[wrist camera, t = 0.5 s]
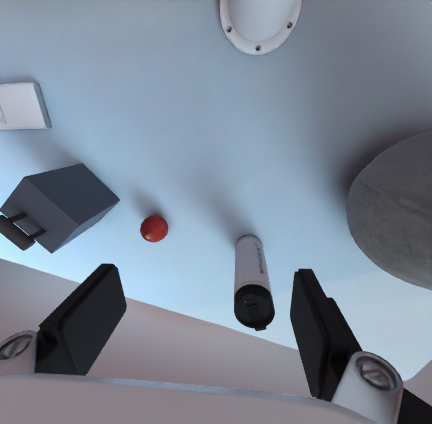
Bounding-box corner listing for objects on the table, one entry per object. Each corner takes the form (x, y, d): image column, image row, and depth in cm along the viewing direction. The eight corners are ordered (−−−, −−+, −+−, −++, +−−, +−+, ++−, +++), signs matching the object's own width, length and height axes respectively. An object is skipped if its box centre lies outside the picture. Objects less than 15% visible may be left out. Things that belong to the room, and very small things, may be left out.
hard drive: (52, 128, 45) (-1, 130, 46) (39, 83, 42) (-17, 86, 43) (46, 128, 44) (-9, 130, 45) (32, 81, 41) (-27, 85, 42)
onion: (158, 236, 52) (145, 254, 45) (143, 217, 51) (127, 233, 43) (177, 225, 51) (166, 242, 43) (162, 206, 49) (148, 220, 42)
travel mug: (241, 261, 53) (242, 335, 34) (231, 239, 51) (227, 304, 32) (266, 254, 51) (281, 327, 33) (257, 231, 49) (268, 294, 31)
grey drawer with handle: (-8, 184, 30) (-35, 221, 32) (57, 239, 32) (28, 269, 35) (82, 163, 47) (60, 188, 50) (120, 200, 50) (97, 222, 52)
